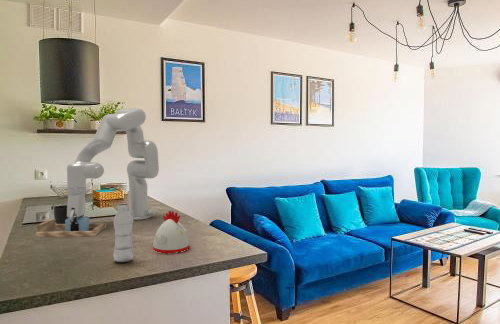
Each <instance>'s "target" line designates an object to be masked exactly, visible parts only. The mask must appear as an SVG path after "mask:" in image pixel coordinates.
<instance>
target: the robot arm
mask: <svg viewBox="0 0 500 324" xmlns="http://www.w3.org/2000/svg"><path fill="white" fill-rule="evenodd" d="M146 117H147V115H146V113H145V111H144V110H143V109H141V108H121V109H116V110H115V112H114V113H108V114H105V115H104V116H103V117H102V119H101V121H100V123H99V124H98V127H97V130H96V133H95V134H94V137H93V139H92V140H91V141H90V142H89V143H88V144H87V145H85V147H84V148H82V150H80V152H79V153H78V155H77V156H76V159H75V161H74V163H69V164H67V167H66V175H67V176H66V179H67V180H66V183H67V184H66V185H67V204H66V205H67V217H68V218H69V219H70V224H71V231H79V224H78V217H85V213H86V197H85V196H86V194H87V179H90V180H91V179H92V180H93V179H94V180H95V179H100V178H101V177H102V176H103V175H104V173H105V169H104V166H103V165H102V164H101V163H98V162H92V160H93V159H94V158H95V157H96V156H98V155H99V154H100V153H102V152H104V151H107V150H108V149H110V148H111V146H112V145H113V141H115V137H116V136H117V135H116V134H117V133H118V132H126V133H125V134H126V140H127V150H128V151H127V152H128V154H129V157H132V158H135V159H134V160H131V161H130V162H129V163H128V164H127V167H126V171H127V177H128V187H129V188H128V189H129V190H128V191H129V192H128V199H129V201H128V204H129V210H128V212H129V213H130V214H131V215H132V217H133V221H140V220H147V219H150V218H151V215H154V216H155V215H156V210H149V209H150V208H148V183H147V181H146V179H154V178H155V179H156V177H157V176H158V175H159V170H160V169H159V168H160V165H159V163H160V162H159V152H158V147H157V144H156V143H155V142H154V141H152V140H145V138H144V131H143V128H142V126H141V125H143V124H144V123H145V122H146ZM140 159H141V160H140ZM143 159H144V160H143ZM75 219H76V220H75Z"/></svg>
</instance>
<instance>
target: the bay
mask: <svg viewBox="0 0 500 324" xmlns="http://www.w3.org/2000/svg"><path fill="white" fill-rule="evenodd" d="M106 228H107V223H106V222H100V223H98V222H97V223H93V222H92V223H89V229H92V230H88V231H65V224H56V221H55V217H54V218H53V217H52V218H49V219H47V220H45V221H42V222H41V223H39V224H37V231H36V232H35V237H36V238H61V237H63V238H64V237H66V238H69V237H72V238H73V237H76V238H77V237H96V236H97V235H99V234H100V233H102V231H104V230H105V229H106ZM59 229H60V231H54V230H59ZM61 229H62V230H64V231H62V230H61Z"/></svg>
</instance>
